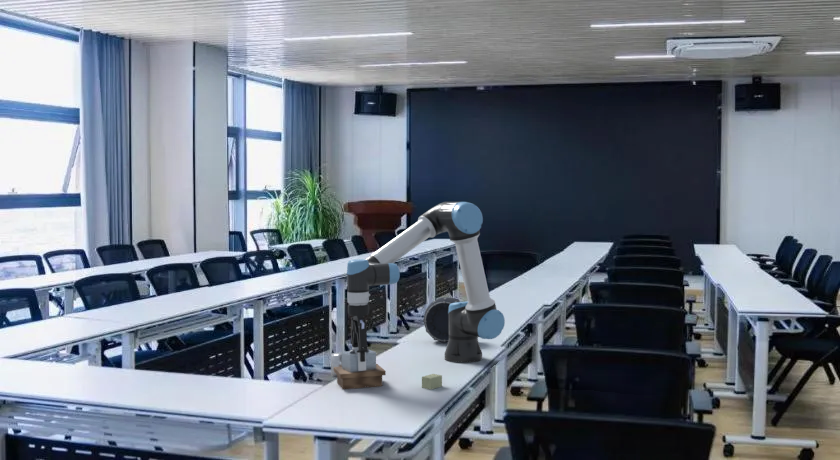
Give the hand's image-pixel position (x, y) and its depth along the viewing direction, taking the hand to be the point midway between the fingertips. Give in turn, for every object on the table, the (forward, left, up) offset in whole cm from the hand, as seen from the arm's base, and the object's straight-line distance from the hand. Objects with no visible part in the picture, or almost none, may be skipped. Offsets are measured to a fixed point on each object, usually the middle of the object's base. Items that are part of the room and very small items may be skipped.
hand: (359, 367), depth 295 cm
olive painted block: (-23, +12, -6) cm, 27 cm away
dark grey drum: (-54, -64, -6) cm, 84 cm away
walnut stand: (0, 0, -6) cm, 6 cm away
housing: (0, 0, 0) cm, 0 cm away
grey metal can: (+4, -16, -6) cm, 18 cm away
